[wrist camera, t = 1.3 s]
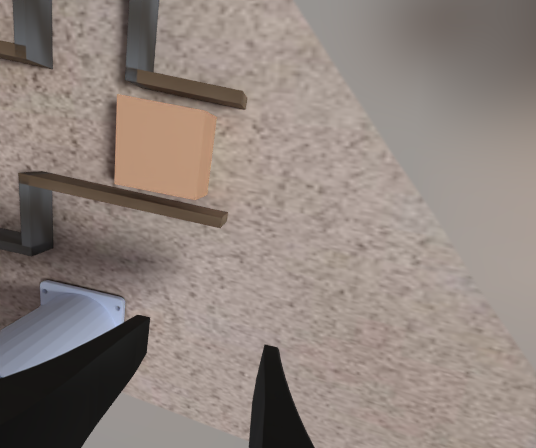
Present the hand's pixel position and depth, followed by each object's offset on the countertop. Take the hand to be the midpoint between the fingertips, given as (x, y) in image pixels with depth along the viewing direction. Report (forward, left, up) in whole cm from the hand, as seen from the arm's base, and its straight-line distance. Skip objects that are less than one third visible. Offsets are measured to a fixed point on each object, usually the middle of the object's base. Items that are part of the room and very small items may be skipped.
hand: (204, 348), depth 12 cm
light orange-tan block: (+8, +7, -11) cm, 15 cm away
